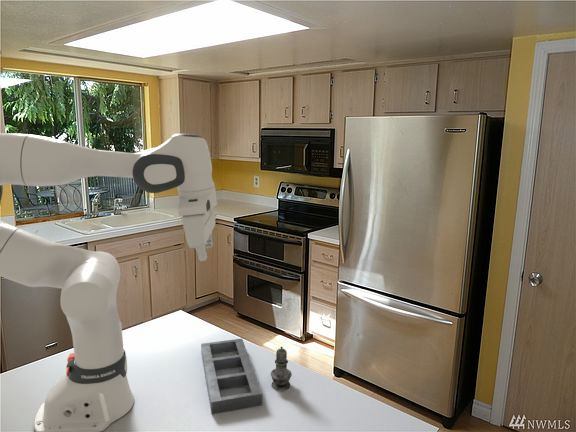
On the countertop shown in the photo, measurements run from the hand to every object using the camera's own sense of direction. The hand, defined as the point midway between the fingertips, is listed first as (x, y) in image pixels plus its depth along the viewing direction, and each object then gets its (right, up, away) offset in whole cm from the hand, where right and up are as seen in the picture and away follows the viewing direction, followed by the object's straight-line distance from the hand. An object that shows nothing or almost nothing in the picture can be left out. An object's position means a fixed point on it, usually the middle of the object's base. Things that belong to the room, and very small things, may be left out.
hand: (206, 253), depth 105 cm
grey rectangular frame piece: (+4, -37, +15) cm, 40 cm away
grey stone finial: (+19, -38, +12) cm, 44 cm away
